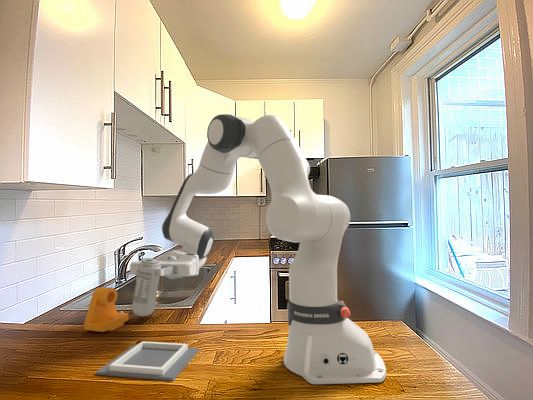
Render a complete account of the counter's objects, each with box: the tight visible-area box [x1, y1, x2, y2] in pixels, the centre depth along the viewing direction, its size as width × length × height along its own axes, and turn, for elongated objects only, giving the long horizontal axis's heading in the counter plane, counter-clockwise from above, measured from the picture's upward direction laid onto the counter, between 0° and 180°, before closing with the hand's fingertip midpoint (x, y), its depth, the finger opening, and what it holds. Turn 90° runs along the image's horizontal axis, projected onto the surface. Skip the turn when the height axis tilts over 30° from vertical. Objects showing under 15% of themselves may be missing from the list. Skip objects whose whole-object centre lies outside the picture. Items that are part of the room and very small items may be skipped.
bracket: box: [83, 286, 130, 333], centre depth 95 cm, size 11×7×12 cm, turn 164°
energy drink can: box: [131, 257, 161, 317], centre depth 85 cm, size 6×6×15 cm
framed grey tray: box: [95, 341, 200, 382], centre depth 71 cm, size 18×14×2 cm
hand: (147, 272), depth 84 cm, fingers closed on energy drink can, 6 cm apart
